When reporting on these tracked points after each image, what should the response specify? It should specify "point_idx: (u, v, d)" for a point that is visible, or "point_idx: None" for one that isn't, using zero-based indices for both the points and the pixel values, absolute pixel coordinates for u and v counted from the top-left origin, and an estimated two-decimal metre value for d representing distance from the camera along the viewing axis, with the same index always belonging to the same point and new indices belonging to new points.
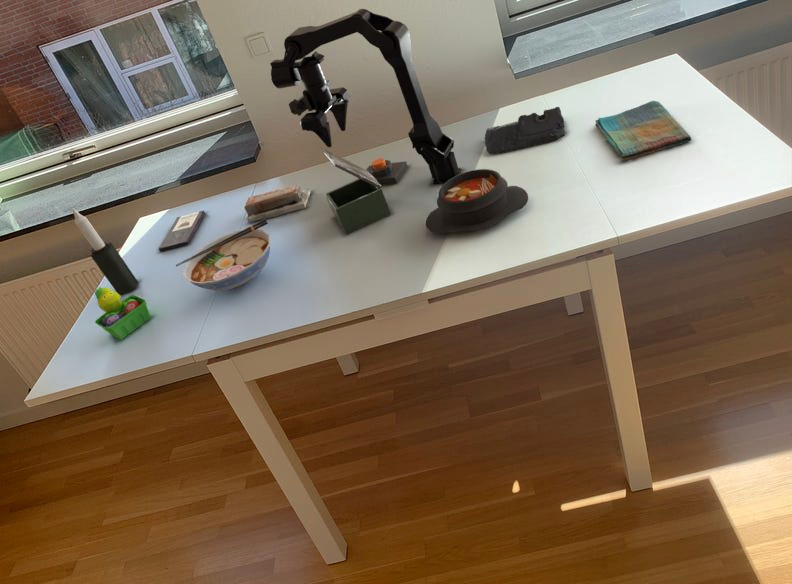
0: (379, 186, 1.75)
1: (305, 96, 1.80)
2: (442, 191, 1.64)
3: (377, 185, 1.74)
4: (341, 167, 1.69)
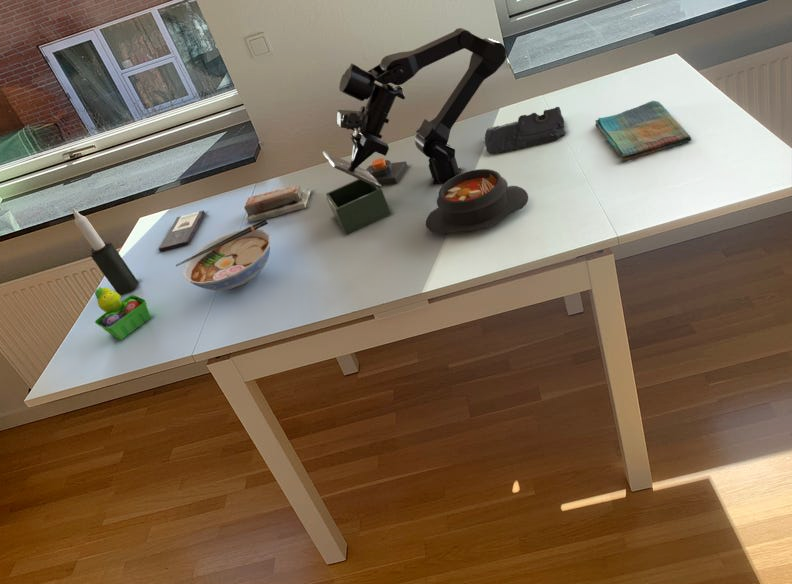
0: (379, 186, 1.75)
1: (367, 116, 1.68)
2: (442, 191, 1.64)
3: (377, 185, 1.74)
4: (340, 168, 1.69)
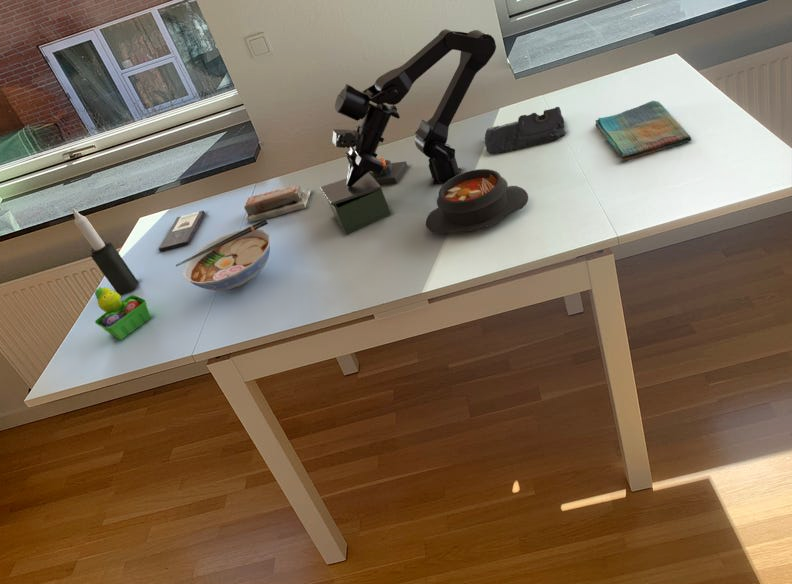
0: (379, 187, 1.75)
1: (362, 135, 1.70)
2: (442, 191, 1.64)
3: (376, 188, 1.75)
4: (337, 201, 1.73)
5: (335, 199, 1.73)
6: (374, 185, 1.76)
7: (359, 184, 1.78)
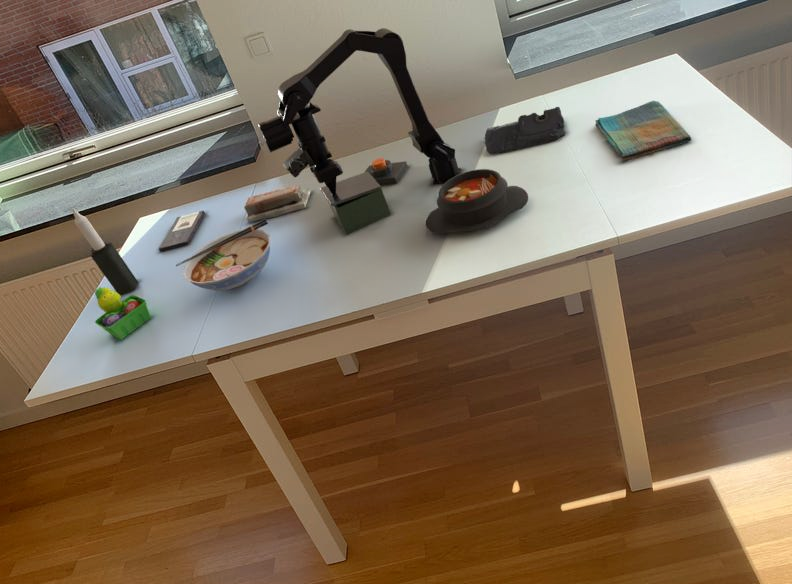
0: (379, 188, 1.75)
1: (305, 151, 1.67)
2: (442, 191, 1.64)
3: (376, 188, 1.75)
4: (337, 202, 1.73)
5: (335, 200, 1.73)
6: (374, 185, 1.76)
7: (359, 184, 1.78)
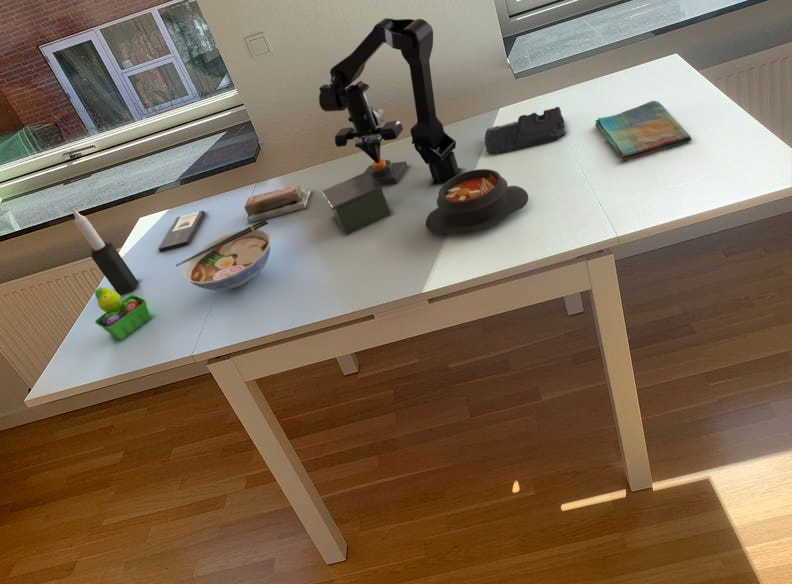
0: (379, 188, 1.75)
1: None
2: (442, 191, 1.64)
3: (377, 189, 1.75)
4: (338, 205, 1.73)
5: (336, 203, 1.74)
6: (374, 185, 1.76)
7: (359, 185, 1.78)
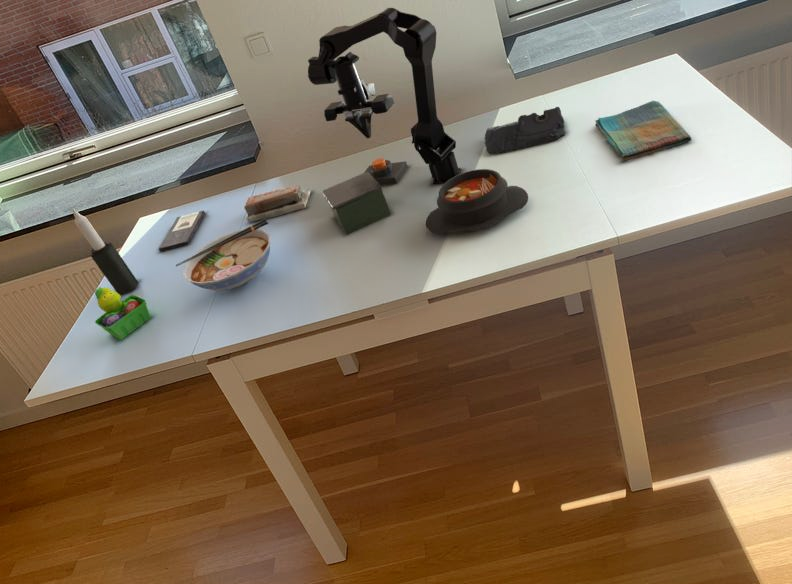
0: (379, 188, 1.75)
1: None
2: (442, 191, 1.64)
3: (377, 189, 1.75)
4: (338, 205, 1.73)
5: (336, 203, 1.74)
6: (374, 185, 1.76)
7: (359, 185, 1.78)
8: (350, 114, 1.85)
